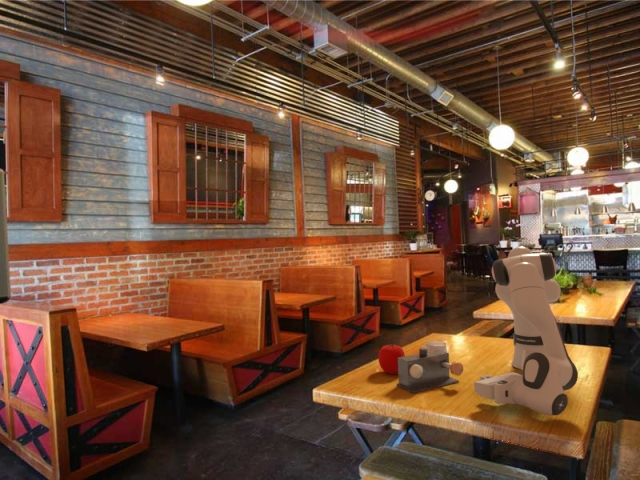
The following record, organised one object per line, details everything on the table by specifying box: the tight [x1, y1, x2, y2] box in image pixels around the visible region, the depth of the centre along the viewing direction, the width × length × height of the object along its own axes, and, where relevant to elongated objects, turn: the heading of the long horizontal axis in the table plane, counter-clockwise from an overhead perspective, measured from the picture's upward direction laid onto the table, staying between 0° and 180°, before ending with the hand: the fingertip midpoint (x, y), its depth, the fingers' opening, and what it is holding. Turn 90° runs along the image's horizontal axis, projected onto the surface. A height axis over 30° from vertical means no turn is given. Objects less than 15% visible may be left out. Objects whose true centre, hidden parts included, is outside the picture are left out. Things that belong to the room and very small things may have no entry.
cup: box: [425, 340, 448, 353], centre depth 188 cm, size 9×9×12 cm
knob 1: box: [409, 364, 423, 378], centre depth 170 cm, size 9×5×5 cm, turn 27°
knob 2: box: [441, 361, 464, 377], centre depth 172 cm, size 9×5×5 cm, turn 27°
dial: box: [418, 345, 428, 356], centre depth 174 cm, size 3×3×4 cm
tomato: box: [377, 343, 406, 375], centre depth 188 cm, size 12×12×13 cm
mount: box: [396, 350, 460, 394], centre depth 173 cm, size 10×23×11 cm, turn 117°
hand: (483, 377), depth 157 cm, fingers closed
